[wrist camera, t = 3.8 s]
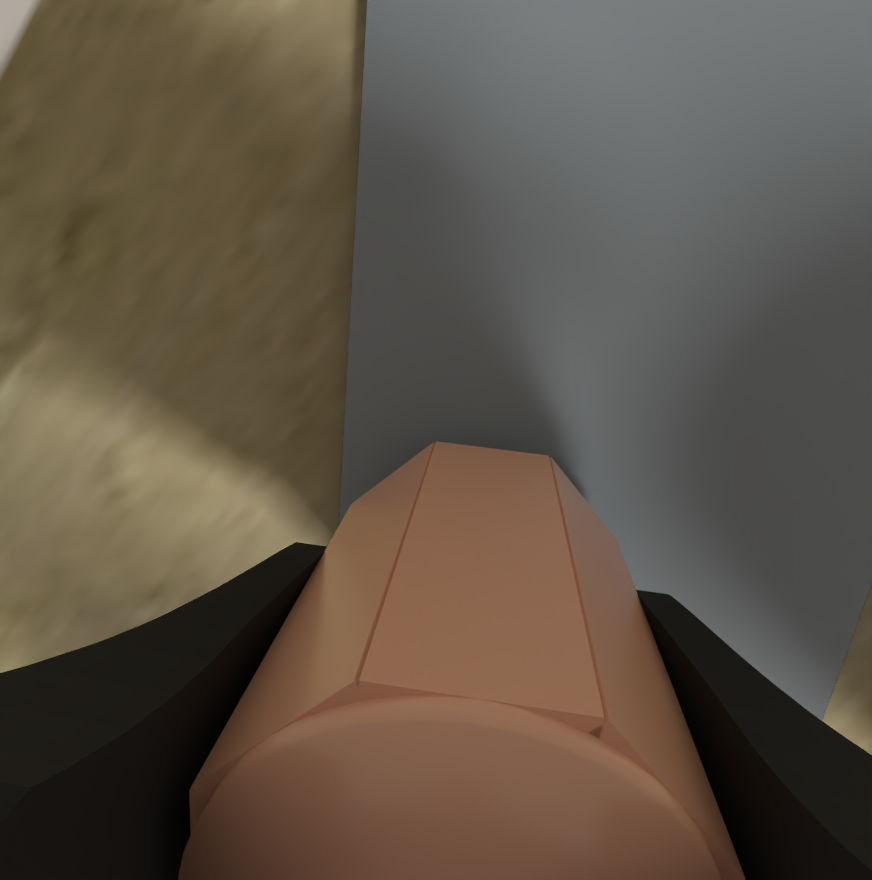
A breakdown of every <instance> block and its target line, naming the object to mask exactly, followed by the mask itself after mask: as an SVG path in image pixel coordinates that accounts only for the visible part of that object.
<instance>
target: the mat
mask: <svg viewBox="0 0 872 880" xmlns="http://www.w3.org/2000/svg"><path fill="white" fill-rule="evenodd" d="M436 441H438V442H446V443H454V444H462V445H470V446H477V447H485V448H493V449H501V450H509V451H517V452H525V453H533V454H541V455H549V458H550V457H552V459H553V460H554V461H555V462H556V464H557V465H558V466H559V467H560V469H561V470H562V471H563V472H564V474H565V475H566V476H567V477H568V479H569V480H570V481H571V482H572V484H573V485H574V486H575V487H576V489H577V490H578V491H579V492H580V494H581V495H582V496H583V497H584V499H585V500H586V501H587V503H588V504H589V505H590V506H591V508H592V509H593V510H594V511H595V513H596V514H597V515H598V516H599V518H600V519H601V520H602V521H603V523H604V524H605V525H606V526H607V528H608V529H609V530H610V531H611V533H612V534H613V535H614V536H615V538H616V539H617V541H618V544H619V546H620V549H621V552H622V554H623V557H624V559H625V562H626V565H627V567H628V570H629V573H630V575H631V578H632V581H633V583H634V586H635V588H636V590H642V591H649V592H657V593H664V594H669V595H670V596H672V597H673V598H675V599H676V600H677V601H678V602H680V603H681V604H682V605H683V606H684V607H686V608H687V609H688V610H689V611H690V612H691V613H692V614H694V615H695V616H696V617H697V618H698V619H699V620H700V621H702V622H703V623H704V624H705V625H706V626H707V627H708V628H709V629H711V630H712V631H713V632H714V633H715V634H716V635H717V636H718V637H720V638H721V639H722V640H723V641H724V642H725V643H726V644H727V645H729V646H730V647H731V648H732V649H733V650H734V651H735V652H737V653H738V654H739V655H740V656H741V657H742V658H744V659H745V660H746V661H747V662H748V663H749V664H751V665H752V666H753V667H754V668H755V669H756V670H758V671H759V672H760V673H761V674H762V675H764V676H765V677H766V678H767V679H769V680H770V681H771V682H772V683H773V684H775V685H776V686H777V687H778V688H780V689H781V690H782V691H783V692H785V693H786V694H787V695H789V696H790V697H791V698H792V699H794V700H795V701H796V702H798V703H799V704H800V705H801V706H803V707H804V708H805V709H807V710H808V711H809V712H810V713H812V714H813V715H814V716H816V717H817V718H818V719H820V720H821V721H822V719H823V716H824V714H825V711H826V708H827V706H828V703H829V700H830V697H831V695H832V692H833V689H834V686H835V684H836V681H837V678H838V676H839V673H840V670H841V667H842V665H843V662H844V659H845V656H846V654H847V651H848V648H849V646H850V643H851V640H852V637H853V635H854V632H855V629H856V626H857V624H858V621H859V618H860V615H861V613H862V610H863V607H864V605H865V602H866V599H867V596H868V594H869V591H870V588H871V585H872V0H367V13H366V31H365V50H364V68H363V86H362V104H361V123H360V141H359V159H358V177H357V196H356V214H355V232H354V250H353V269H352V287H351V305H350V323H349V342H348V360H347V378H346V396H345V415H344V433H343V451H342V469H341V488H340V506H339V524H338V527H339V525H340V523H341V521H342V519H343V518H344V516H345V514H346V512H347V511H348V509H349V507H350V505H351V504H352V503H353V502H354V501H356V500H357V499H358V498H360V497H361V496H362V495H364V494H365V493H366V492H368V491H369V490H370V489H372V488H373V487H374V486H376V485H377V484H378V483H380V482H381V481H382V480H384V479H385V478H386V477H388V476H389V475H390V474H392V473H393V472H394V471H396V470H397V469H398V468H400V467H401V466H402V465H404V464H405V463H406V462H408V461H409V460H410V459H412V458H413V457H414V456H416V455H417V454H418V453H420V452H421V451H422V450H424V449H425V448H426V447H428V446H429V445H430V444H432V443H433V442H434V443H435V444H436Z"/></svg>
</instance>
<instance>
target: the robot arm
mask: <svg viewBox="0 0 872 880" xmlns="http://www.w3.org/2000/svg"><path fill="white" fill-rule="evenodd" d="M326 548H327V547H325V546H318V545H311V544H304V543H297V542H296V543H294V544H292V545H290V546H288V547H286V548H285V549H283V550H281V551H279V552H278V553H276V554H274V555H273V556H271V557H269V558H268V559H266V560H264V561H262V562H261V563H259V564H257V565H256V566H254V567H252V568H251V569H249V570H247V571H246V572H244V573H242V574H240V575H239V576H237V577H235V578H233V579H232V580H230V581H228V582H227V583H225V584H223V585H221V586H220V587H218V588H216V589H214V590H212V591H210V592H208V593H206V594H204V595H202V596H200V597H198V598H196V599H194V600H193V601H191V602H189V603H187V604H185V605H183V606H181V607H179V608H177V609H175V610H173V611H171V612H169V613H167V614H165V615H163V616H161V617H159V618H156V619H154V620H152V621H150V622H147V623H145V624H143V625H140V626H138V627H136V628H133V629H131V630H128V631H126V632H123V633H121V634H118V635H116V636H113V637H111V638H108V639H106V640H103V641H100V642H98V643H95V644H92V645H89V646H86V647H83V648H80V649H77V650H74V651H71V652H68V653H65V654H62V655H59V656H56V657H53V658H50V659H47V660H44V661H41V662H38V663H34V664H31V665H28V666H25V667H21V668H18V669H14V670H10V671H7V672H3V673H0V880H178V874H179V870H180V866H181V861H182V857H183V853H184V849H185V847H186V845H187V842H188V840H189V838H190V836H191V829H190V797H189V790H190V788H191V786H192V784H193V782H194V781H195V779H196V777H197V775H198V773H199V772H200V770H201V768H202V766H203V765H204V763H205V761H206V759H207V758H208V756H209V754H210V752H211V751H212V749H213V747H214V745H215V743H216V742H217V740H218V738H219V736H220V735H221V733H222V731H223V729H224V728H225V726H226V724H227V722H228V721H229V719H230V717H231V715H232V713H233V712H234V710H235V708H236V706H237V705H238V703H239V701H240V699H241V698H242V696H243V694H244V692H245V691H246V689H247V687H248V685H249V684H250V682H251V680H252V678H253V676H254V675H255V673H256V671H257V669H258V668H259V666H260V664H261V662H262V661H263V659H264V657H265V655H266V654H267V652H268V650H269V648H270V646H271V645H272V643H273V641H274V639H275V638H276V636H277V634H278V632H279V631H280V629H281V627H282V625H283V624H284V622H285V620H286V618H287V616H288V615H289V613H290V611H291V609H292V608H293V606H294V604H295V602H296V601H297V599H298V597H299V595H300V594H301V592H302V590H303V588H304V587H305V585H306V583H307V581H308V579H309V578H310V576H311V574H312V572H313V571H314V569H315V567H316V566H317V564H318V562H319V560H320V558H321V557H322V555H323V553H324V551H325V549H326ZM636 591H637V594H638V597H639V599H640V602H641V605H642V607H643V610H644V613H645V615H646V618H647V620H648V623H649V625H650V628H651V631H652V633H653V636H654V639H655V641H656V644H657V646H658V649H659V652H660V654H661V657H662V660H663V662H664V665H665V668H666V670H667V673H668V675H669V678H670V681H671V683H672V686H673V689H674V691H675V694H676V697H677V699H678V702H679V704H680V707H681V710H682V712H683V715H684V718H685V720H686V723H687V726H688V728H689V731H690V733H691V736H692V739H693V741H694V744H695V747H696V749H697V752H698V755H699V757H700V760H701V763H702V765H703V768H704V770H705V773H706V776H707V778H708V781H709V784H710V786H711V789H712V792H713V794H714V797H715V799H716V802H717V805H718V807H719V810H720V813H721V815H722V818H723V821H724V823H725V826H726V828H727V831H728V834H729V836H730V839H731V842H732V844H733V847H734V850H735V852H736V855H737V857H738V860H739V863H740V865H741V868H742V871H743V873H744V876H745V880H872V755H870V754H869V753H867V752H866V751H864V750H863V749H861V748H860V747H859V746H857V745H856V744H854V743H853V742H851V741H850V740H848V739H847V738H845V737H844V736H842V735H841V734H839V733H838V732H837V731H835V730H834V729H832V728H831V727H829V726H828V725H827V724H825V723H824V722H823V721H821V720H820V719H818V718H817V717H816V716H814V715H813V714H812V713H810V712H809V711H808V710H807V709H805V708H804V707H803V706H801V705H800V704H799V703H798V702H796V701H795V700H794V699H792V698H791V697H790V696H789V695H787V694H786V693H785V692H783V691H782V690H781V689H780V688H778V687H777V686H776V685H775V684H773V683H772V682H771V681H770V680H769V679H767V678H766V677H765V676H764V675H762V674H761V673H760V672H759V671H758V670H756V669H755V668H754V667H753V666H752V665H751V664H749V663H748V662H747V661H746V660H745V659H744V658H742V657H741V656H740V655H739V654H738V653H737V652H735V651H734V650H733V649H732V648H731V647H730V646H729V645H727V644H726V643H725V642H724V641H723V640H722V639H721V638H720V637H718V636H717V635H716V634H715V633H714V632H713V631H712V630H711V629H709V628H708V627H707V626H706V625H705V624H704V623H703V622H702V621H700V620H699V619H698V618H697V617H696V616H695V615H694V614H692V613H691V612H690V611H689V610H688V609H687V608H686V607H684V606H683V605H682V604H681V603H680V602H678V601H677V600H676V599H675V598H673V597H672V596H670V595H669V594H664V593H657V592H649V591H642V590H636Z"/></svg>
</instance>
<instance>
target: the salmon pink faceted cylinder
mask: <svg viewBox="0 0 872 880" xmlns="http://www.w3.org/2000/svg"><path fill="white" fill-rule="evenodd" d="M189 797H190V829H191V836H190V838H189V840H188V842H187V845H186V847H185V849H184V853H183V857H182V861H181V866H180V870H179V874H178V880H745V876H744V873H743V871H742V868H741V865H740V863H739V860H738V857H737V855H736V852H735V850H734V847H733V844H732V842H731V839H730V836H729V834H728V831H727V828H726V826H725V823H724V821H723V818H722V815H721V813H720V810H719V807H718V805H717V802H716V799H715V797H714V794H713V792H712V789H711V786H710V784H709V781H708V778H707V776H706V773H705V770H704V768H703V765H702V763H701V760H700V757H699V755H698V752H697V749H696V747H695V744H694V741H693V739H692V736H691V733H690V731H689V728H688V726H687V723H686V720H685V718H684V715H683V712H682V710H681V707H680V704H679V702H678V699H677V697H676V694H675V691H674V689H673V686H672V683H671V681H670V678H669V675H668V673H667V670H666V668H665V665H664V662H663V660H662V657H661V654H660V652H659V649H658V646H657V644H656V641H655V639H654V636H653V633H652V631H651V628H650V625H649V623H648V620H647V618H646V615H645V613H644V610H643V607H642V605H641V602H640V599H639V597H638V594H637V591H636V588H635V586H634V583H633V581H632V578H631V575H630V573H629V570H628V567H627V565H626V562H625V559H624V557H623V554H622V552H621V549H620V546H619V544H618V541H617V539H616V538H615V536H614V535H613V534H612V533H611V531H610V530H609V529H608V528H607V526H606V525H605V524H604V523H603V521H602V520H601V519H600V518H599V516H598V515H597V514H596V513H595V511H594V510H593V509H592V508H591V506H590V505H589V504H588V503H587V501H586V500H585V499H584V497H583V496H582V495H581V494H580V492H579V491H578V490H577V489H576V487H575V486H574V485H573V484H572V482H571V481H570V480H569V479H568V477H567V476H566V475H565V474H564V472H563V471H562V470H561V469H560V467H559V466H558V465H557V464H556V462H555V461H554V460H553V459H552V457H550V458H549V455H541V454H533V453H525V452H517V451H509V450H501V449H493V448H485V447H477V446H470V445H462V444H454V443H446V442H438V441H436V444H435V443H434V442H433V443H432V444H430V445H429V446H428V447H426V448H425V449H424V450H422V451H421V452H420V453H418V454H417V455H416V456H414V457H413V458H412V459H410V460H409V461H408V462H406V463H405V464H404V465H402V466H401V467H400V468H398V469H397V470H396V471H394V472H393V473H392V474H390V475H389V476H388V477H386V478H385V479H384V480H382V481H381V482H380V483H378V484H377V485H376V486H374V487H373V488H372V489H370V490H369V491H368V492H366V493H365V494H364V495H362V496H361V497H360V498H358V499H357V500H356V501H354V502H353V503H352V504H351V505H350V507H349V509H348V511H347V512H346V514H345V516H344V518H343V519H342V521H341V523H340V525H339V527H338V528H337V530H336V532H335V534H334V535H333V537H332V539H331V541H330V542H329V544H328V546H327V548H326V549H325V551H324V553H323V555H322V557H321V558H320V560H319V562H318V564H317V566H316V567H315V569H314V571H313V572H312V574H311V576H310V578H309V579H308V581H307V583H306V585H305V587H304V588H303V590H302V592H301V594H300V595H299V597H298V599H297V601H296V602H295V604H294V606H293V608H292V609H291V611H290V613H289V615H288V616H287V618H286V620H285V622H284V624H283V625H282V627H281V629H280V631H279V632H278V634H277V636H276V638H275V639H274V641H273V643H272V645H271V646H270V648H269V650H268V652H267V654H266V655H265V657H264V659H263V661H262V662H261V664H260V666H259V668H258V669H257V671H256V673H255V675H254V676H253V678H252V680H251V682H250V684H249V685H248V687H247V689H246V691H245V692H244V694H243V696H242V698H241V699H240V701H239V703H238V705H237V706H236V708H235V710H234V712H233V713H232V715H231V717H230V719H229V721H228V722H227V724H226V726H225V728H224V729H223V731H222V733H221V735H220V736H219V738H218V740H217V742H216V743H215V745H214V747H213V749H212V751H211V752H210V754H209V756H208V758H207V759H206V761H205V763H204V765H203V766H202V768H201V770H200V772H199V773H198V775H197V777H196V779H195V781H194V782H193V784H192V786H191V788H190V790H189Z"/></svg>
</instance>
